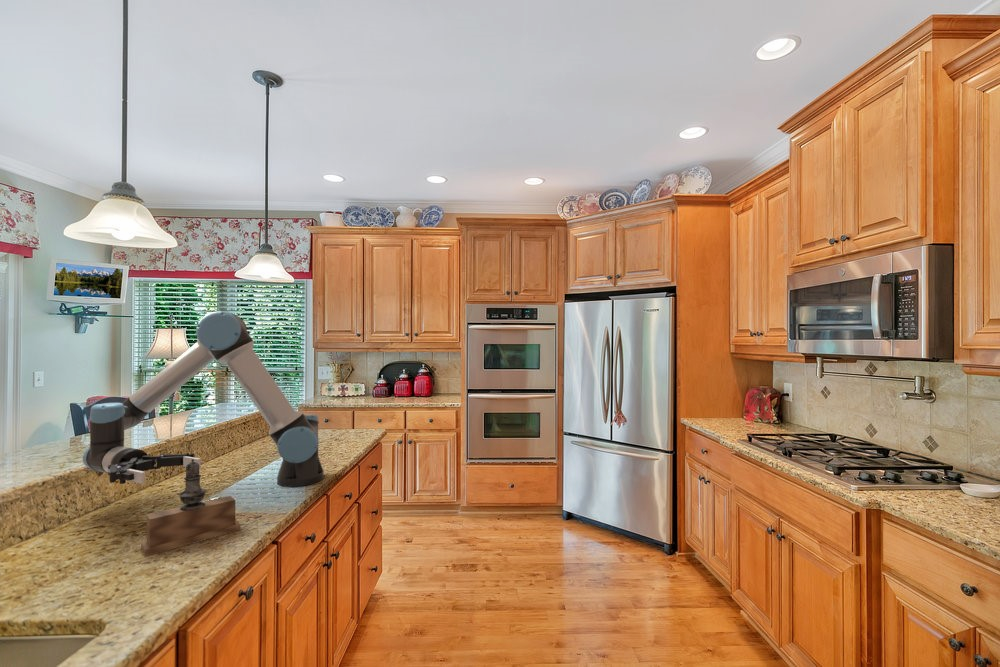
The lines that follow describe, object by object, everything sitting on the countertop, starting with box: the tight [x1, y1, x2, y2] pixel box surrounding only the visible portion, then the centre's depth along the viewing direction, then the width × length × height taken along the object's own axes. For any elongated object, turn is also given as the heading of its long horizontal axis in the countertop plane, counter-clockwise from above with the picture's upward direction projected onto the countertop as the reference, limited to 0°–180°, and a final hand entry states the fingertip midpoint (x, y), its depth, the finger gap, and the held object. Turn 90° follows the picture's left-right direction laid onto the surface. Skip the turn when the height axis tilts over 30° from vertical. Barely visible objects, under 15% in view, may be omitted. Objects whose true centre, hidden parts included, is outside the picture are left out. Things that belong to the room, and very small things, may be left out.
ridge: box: [140, 495, 241, 557], centre depth 115 cm, size 20×6×8 cm, turn 135°
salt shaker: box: [178, 459, 207, 511], centre depth 116 cm, size 6×6×12 cm
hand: (173, 470), depth 119 cm, fingers open, 13 cm apart
